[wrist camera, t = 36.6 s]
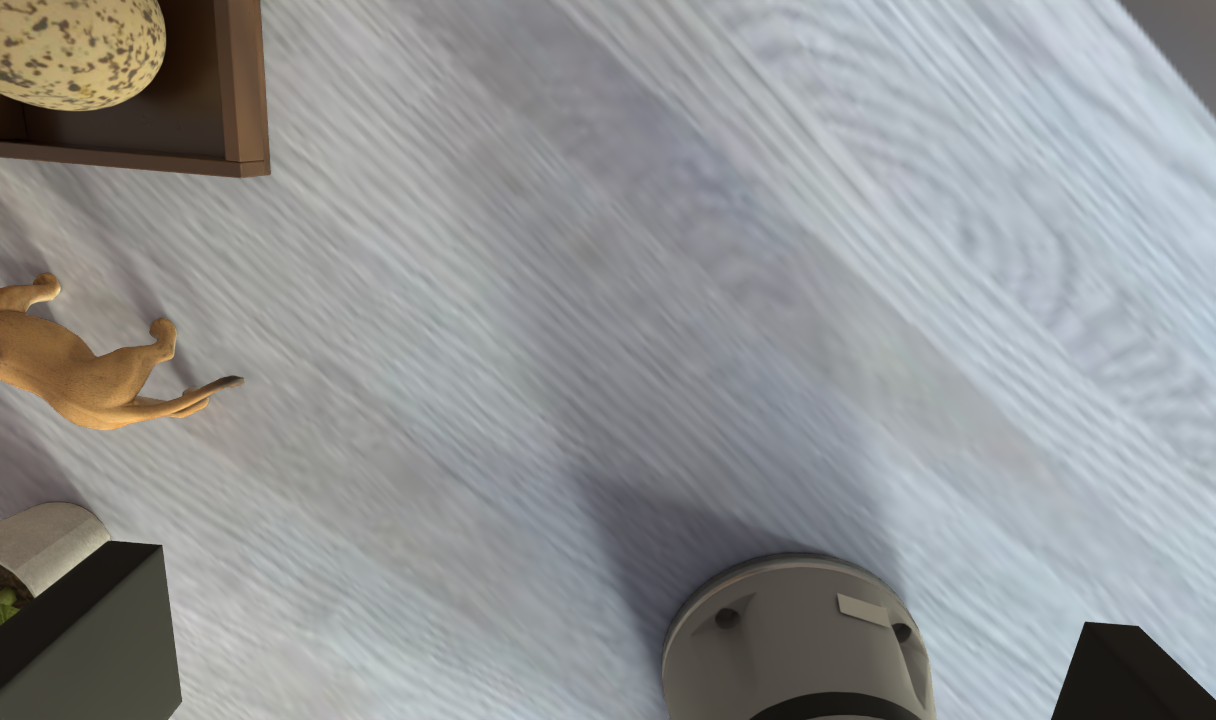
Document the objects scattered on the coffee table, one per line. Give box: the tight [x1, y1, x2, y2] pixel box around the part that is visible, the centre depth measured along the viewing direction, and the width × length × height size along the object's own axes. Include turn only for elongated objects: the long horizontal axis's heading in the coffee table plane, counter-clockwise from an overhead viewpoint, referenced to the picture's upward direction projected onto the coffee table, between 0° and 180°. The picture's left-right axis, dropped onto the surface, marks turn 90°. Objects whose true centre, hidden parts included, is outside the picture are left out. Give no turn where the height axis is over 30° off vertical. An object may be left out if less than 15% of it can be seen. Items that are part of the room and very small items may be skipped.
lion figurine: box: [0, 273, 245, 430], centre depth 33 cm, size 15×5×9 cm, turn 73°
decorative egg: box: [0, 0, 166, 111], centre depth 27 cm, size 7×7×10 cm
